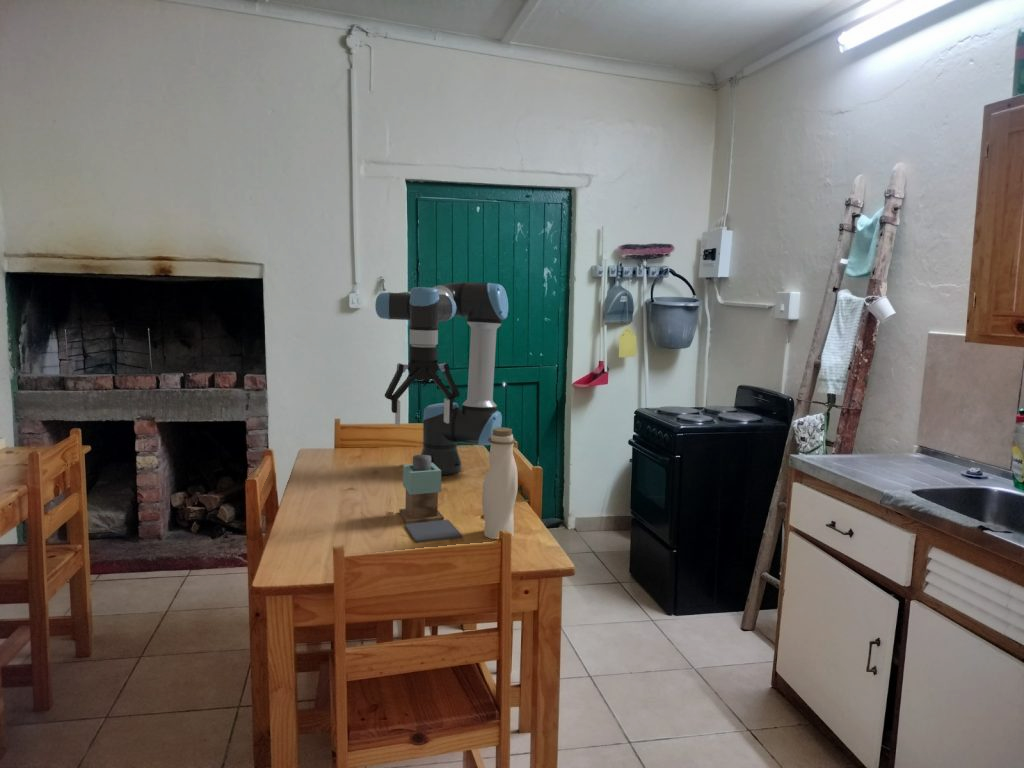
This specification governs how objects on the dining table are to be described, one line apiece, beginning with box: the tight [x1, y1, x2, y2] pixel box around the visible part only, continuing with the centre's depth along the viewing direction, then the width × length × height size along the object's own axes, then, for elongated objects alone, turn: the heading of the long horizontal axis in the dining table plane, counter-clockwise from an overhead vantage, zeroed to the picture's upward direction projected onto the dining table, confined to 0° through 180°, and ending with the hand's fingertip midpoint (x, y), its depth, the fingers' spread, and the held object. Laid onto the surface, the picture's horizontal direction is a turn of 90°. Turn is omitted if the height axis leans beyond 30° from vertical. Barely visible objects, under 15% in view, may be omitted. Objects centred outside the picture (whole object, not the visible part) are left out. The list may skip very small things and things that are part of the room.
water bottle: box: [481, 426, 519, 540], centre depth 176 cm, size 10×9×28 cm
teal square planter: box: [402, 463, 442, 495], centre depth 187 cm, size 8×8×6 cm
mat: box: [404, 519, 463, 543], centre depth 177 cm, size 12×12×1 cm
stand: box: [398, 454, 445, 524], centre depth 187 cm, size 10×10×17 cm
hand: (422, 423), depth 184 cm, fingers open, 13 cm apart
